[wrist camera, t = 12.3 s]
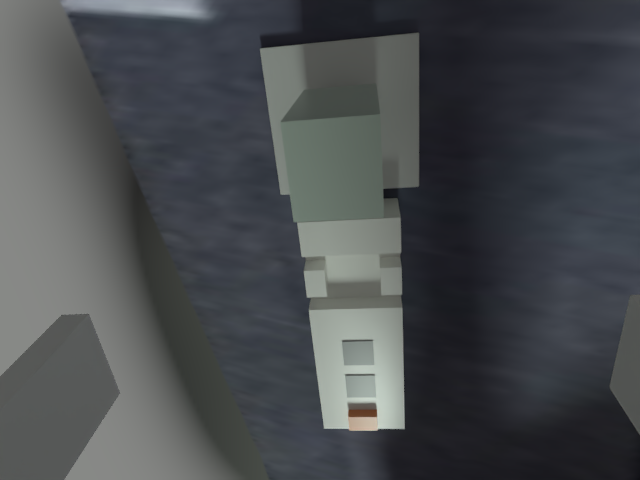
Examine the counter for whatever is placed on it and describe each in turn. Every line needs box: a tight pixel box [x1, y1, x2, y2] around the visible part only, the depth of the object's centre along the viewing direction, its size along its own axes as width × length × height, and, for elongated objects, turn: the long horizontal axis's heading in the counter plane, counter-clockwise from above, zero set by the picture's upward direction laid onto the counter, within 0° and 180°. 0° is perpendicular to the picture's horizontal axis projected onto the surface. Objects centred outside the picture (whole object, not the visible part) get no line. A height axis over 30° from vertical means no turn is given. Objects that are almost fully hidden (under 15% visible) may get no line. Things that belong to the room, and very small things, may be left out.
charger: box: [280, 83, 384, 222], centre depth 26 cm, size 5×4×10 cm
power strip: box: [297, 198, 405, 431], centre depth 37 cm, size 20×7×4 cm, turn 6°
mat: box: [260, 33, 419, 195], centre depth 31 cm, size 10×10×1 cm
